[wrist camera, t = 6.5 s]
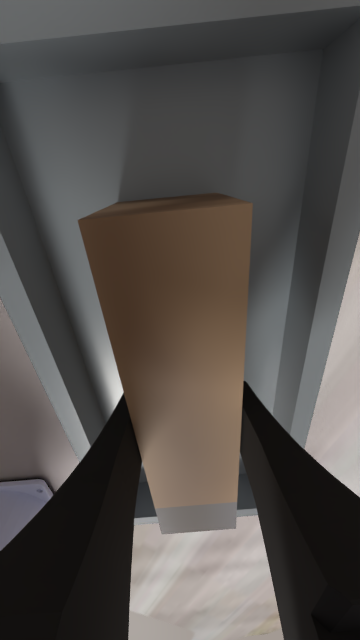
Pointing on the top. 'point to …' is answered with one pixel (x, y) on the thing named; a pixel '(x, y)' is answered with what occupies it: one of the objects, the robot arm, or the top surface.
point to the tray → (179, 178)
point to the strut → (179, 343)
